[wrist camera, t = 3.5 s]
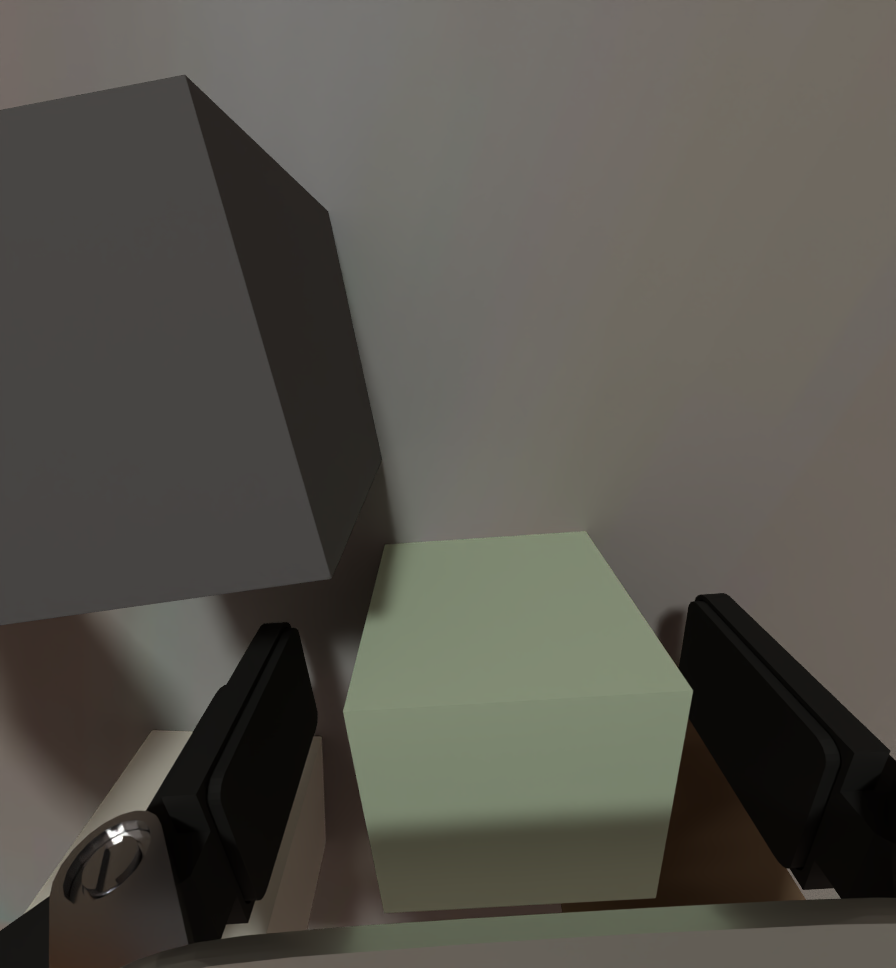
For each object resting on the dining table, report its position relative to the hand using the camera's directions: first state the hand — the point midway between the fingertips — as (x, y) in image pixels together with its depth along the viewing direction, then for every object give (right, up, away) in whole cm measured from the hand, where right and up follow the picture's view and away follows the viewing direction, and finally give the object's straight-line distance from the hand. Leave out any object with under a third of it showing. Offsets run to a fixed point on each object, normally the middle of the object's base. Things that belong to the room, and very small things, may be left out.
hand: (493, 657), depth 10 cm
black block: (-5, +7, -1) cm, 9 cm away
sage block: (0, 0, +1) cm, 1 cm away
